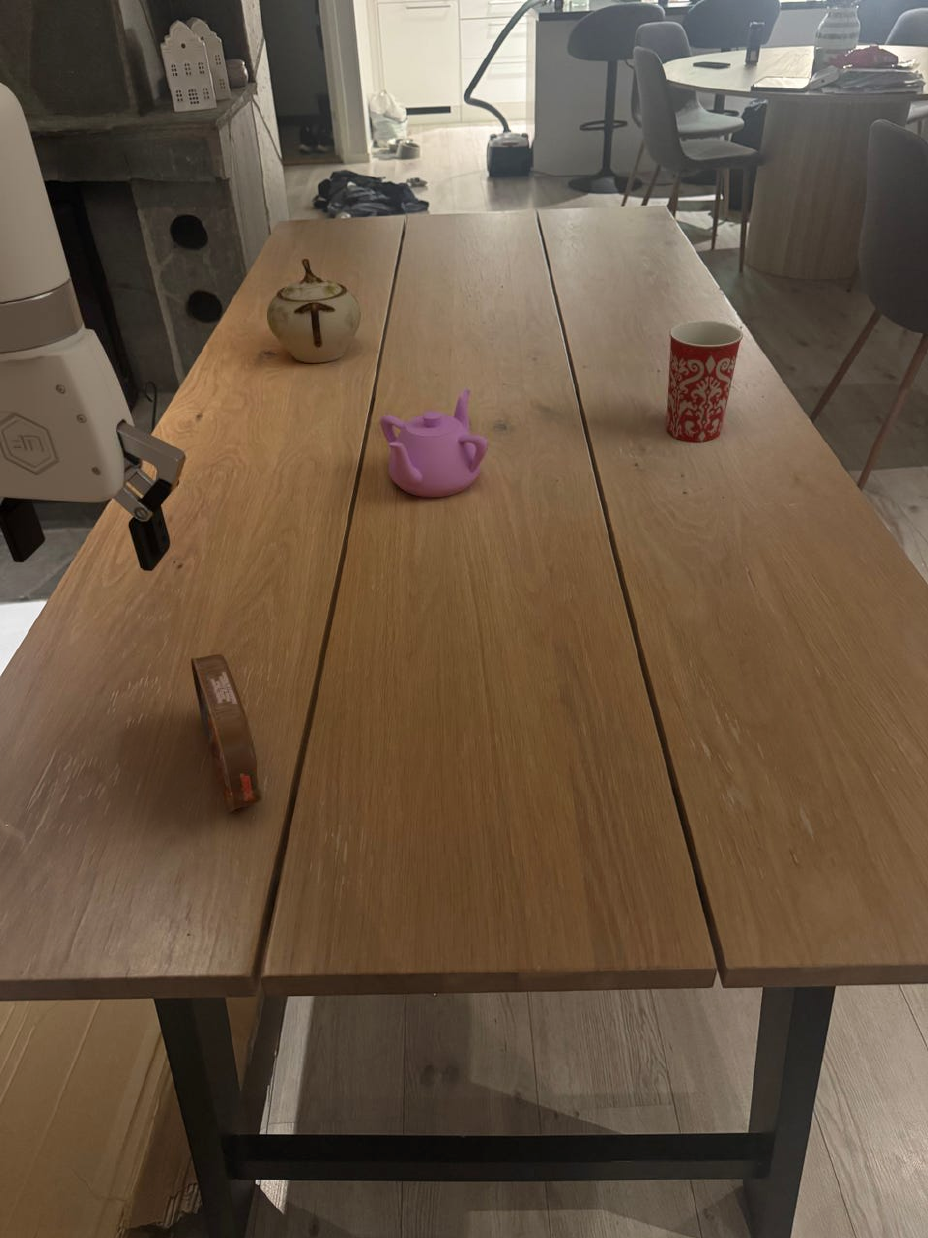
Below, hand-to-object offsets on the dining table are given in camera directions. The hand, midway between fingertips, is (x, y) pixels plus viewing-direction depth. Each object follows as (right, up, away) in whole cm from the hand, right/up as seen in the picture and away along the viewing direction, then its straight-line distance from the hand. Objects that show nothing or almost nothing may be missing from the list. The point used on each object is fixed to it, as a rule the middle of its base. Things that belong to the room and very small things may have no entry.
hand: (92, 556), depth 66 cm
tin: (+7, -17, +12) cm, 22 cm away
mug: (+57, +22, +60) cm, 86 cm away
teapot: (+23, +13, +51) cm, 57 cm away
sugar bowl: (+3, +39, +87) cm, 95 cm away
